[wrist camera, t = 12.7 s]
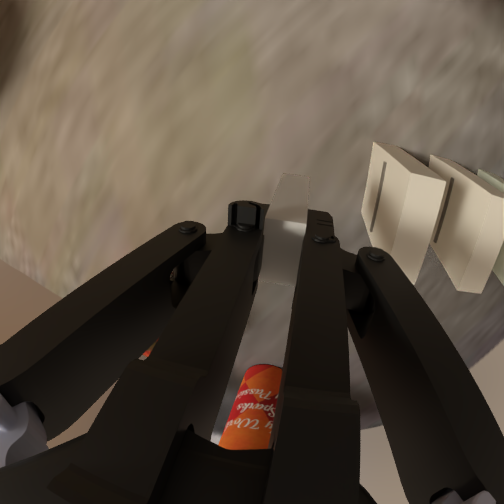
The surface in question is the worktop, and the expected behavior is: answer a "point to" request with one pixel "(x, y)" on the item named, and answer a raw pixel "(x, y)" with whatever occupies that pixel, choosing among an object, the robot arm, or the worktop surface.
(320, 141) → the worktop surface
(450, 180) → the domino
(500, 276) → the domino
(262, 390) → the paper cup
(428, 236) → the domino
